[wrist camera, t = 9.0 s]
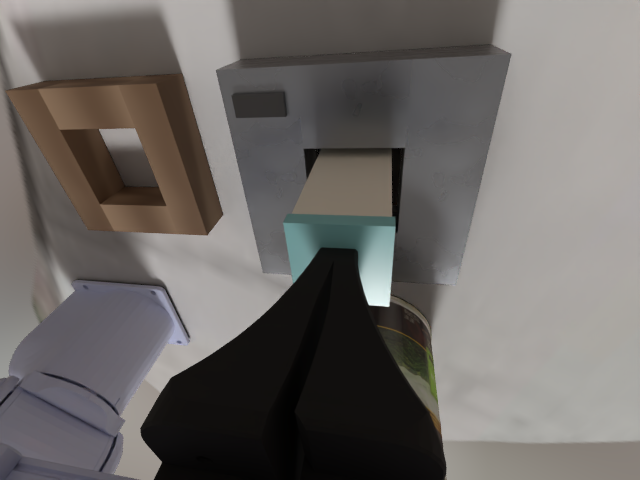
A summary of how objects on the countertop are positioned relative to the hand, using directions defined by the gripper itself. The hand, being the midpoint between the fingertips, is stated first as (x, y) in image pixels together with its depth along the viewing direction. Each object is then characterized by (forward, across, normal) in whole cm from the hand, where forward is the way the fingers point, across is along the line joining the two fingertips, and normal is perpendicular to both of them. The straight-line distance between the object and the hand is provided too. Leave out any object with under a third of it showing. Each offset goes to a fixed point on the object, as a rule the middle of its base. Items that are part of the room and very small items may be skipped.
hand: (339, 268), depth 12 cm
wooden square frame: (+9, +14, -1) cm, 17 cm away
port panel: (+9, 0, 0) cm, 9 cm away
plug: (+9, 0, 0) cm, 9 cm away
